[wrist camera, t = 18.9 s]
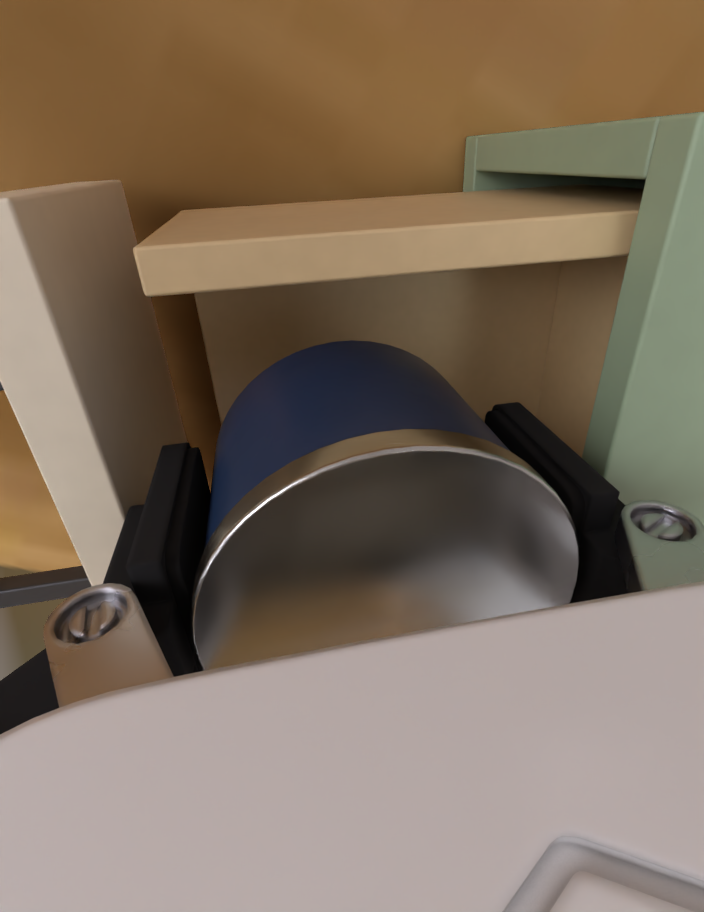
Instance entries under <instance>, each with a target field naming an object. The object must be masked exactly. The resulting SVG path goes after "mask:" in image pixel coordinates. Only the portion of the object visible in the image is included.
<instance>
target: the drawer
mask: <svg viewBox="0 0 704 912" xmlns="http://www.w3.org/2000/svg"><path fill="white" fill-rule="evenodd" d="M643 190H644V189H641V188H628V187H614V186H601V185H587V184H578V185H562V186H547V187H532V188H516V189H501V190H486V191H470V192H455V193H439V194H424V195H409V196H393V197H378V198H363V199H347V200H332V201H316V202H301V203H286V204H270V205H255V206H240V207H224V208H209V209H193V210H182V211H180V212H179V213H178V214H177V215H176V216H174V217H173V218H172V219H170V220H169V221H168V222H166V223H165V224H164V225H163V226H161V227H160V228H159V229H157V230H156V231H155V232H153V233H152V234H151V235H150V236H148V237H147V238H146V239H144V240H143V241H142V242H140V243H139V244H137V240H136V236H135V232H134V228H133V224H132V220H131V216H130V213H129V209H128V205H127V201H126V197H125V193H124V189H123V185H122V182H121V181H120V180H104V181H87V182H74V183H66V184H58V185H51V186H43V187H35V188H28V189H20V190H13V191H5V192H0V391H2V390H4V391H5V393H6V396H7V398H8V400H9V402H10V404H11V407H12V409H13V411H14V413H15V416H16V418H17V420H18V422H19V425H20V427H21V429H22V431H23V434H24V436H25V438H26V440H27V443H28V445H29V447H30V449H31V451H32V454H33V456H34V458H35V460H36V463H37V465H38V467H39V469H40V472H41V474H42V476H43V478H44V481H45V483H46V485H47V487H48V490H49V492H50V494H51V496H52V499H53V501H54V503H55V505H56V507H57V510H58V512H59V514H60V516H61V519H62V521H63V523H64V525H65V528H66V530H67V532H68V534H69V537H70V539H71V541H72V543H73V546H74V548H75V550H76V552H77V554H78V557H79V559H80V561H81V563H82V566H77V567H71V568H64V569H58V570H51V571H44V572H38V573H32V574H24V575H18V576H11V577H4V578H0V608H5V607H10V606H16V605H24V604H29V603H36V602H43V601H49V600H55V599H62V598H68V597H70V596H72V595H74V594H75V593H77V592H79V591H81V590H83V589H86V588H89V587H92V586H95V585H100V584H103V581H104V578H105V576H106V573H107V570H108V567H109V564H110V561H111V558H112V555H113V552H114V549H115V547H116V544H117V541H118V538H119V535H120V532H121V529H122V526H123V523H124V520H125V518H126V515H127V512H128V510H129V508H130V507H131V506H134V505H141V504H145V501H146V497H147V494H148V491H149V488H150V484H151V481H152V478H153V474H154V471H155V468H156V465H157V461H158V458H159V455H160V451H161V448H162V446H163V445H171V444H179V443H187V439H186V435H185V431H184V427H183V423H182V419H181V415H180V411H179V407H178V403H177V399H176V395H175V391H174V387H173V383H172V379H171V375H170V371H169V367H168V363H167V359H166V355H165V351H164V347H163V343H162V339H161V335H160V331H159V328H158V324H157V320H156V316H155V312H154V308H153V304H152V300H151V297H155V296H167V295H178V294H190V293H194V296H195V301H196V306H197V311H198V315H199V320H200V325H201V330H202V335H203V340H204V344H205V349H206V354H207V359H208V364H209V369H210V373H211V378H212V383H213V388H214V393H215V398H216V402H217V407H218V412H219V417H220V422H221V426H222V423H223V421H224V419H225V417H226V415H227V412H228V411H229V409H230V407H231V406H232V404H233V403H234V401H235V400H236V398H237V397H238V396H239V394H240V393H241V392H242V391H243V390H244V389H245V387H246V386H247V385H248V384H249V383H250V382H251V381H252V380H253V379H255V378H256V377H257V376H258V375H259V374H260V373H261V372H263V371H264V370H265V369H267V368H268V367H270V366H271V365H273V364H274V363H276V362H277V361H279V360H281V359H283V358H285V357H287V356H289V355H291V354H293V353H295V352H298V351H300V350H303V349H306V348H309V347H312V346H315V345H320V344H325V343H330V342H337V341H350V340H355V341H371V342H377V343H382V344H387V345H391V346H394V347H397V348H400V349H403V350H405V351H407V352H409V353H411V354H413V355H415V356H417V357H419V358H421V359H422V360H424V361H425V362H426V363H428V364H429V365H431V366H432V367H433V368H434V369H436V370H437V371H438V372H439V373H440V374H441V375H442V376H443V377H444V378H445V379H446V380H447V382H448V383H449V384H450V385H451V386H452V387H453V388H454V389H455V390H456V392H457V393H458V394H459V395H460V396H461V397H462V398H463V399H464V400H465V402H466V403H467V404H468V405H469V406H470V407H471V408H472V409H473V410H474V412H475V413H476V414H477V415H478V416H479V417H480V418H481V419H482V420H483V422H484V423H485V416H486V413H487V412H488V411H492V408H493V406H494V405H497V404H505V403H513V402H519V403H521V404H522V405H523V406H524V407H525V408H526V409H527V410H528V411H530V412H531V413H532V414H533V415H534V416H535V417H536V418H537V419H539V420H540V421H541V422H542V423H543V424H544V425H545V426H546V427H548V428H549V429H550V430H551V431H552V432H553V433H554V434H555V435H557V436H558V437H559V438H560V439H561V440H562V441H563V442H564V443H566V444H567V445H568V446H569V447H570V448H571V449H572V450H573V451H574V452H576V453H577V454H578V455H579V456H580V457H581V458H582V454H583V450H584V445H585V441H586V437H587V432H588V428H589V424H590V419H591V415H592V411H593V406H594V402H595V398H596V393H597V389H598V385H599V381H600V376H601V372H602V368H603V363H604V359H605V355H606V350H607V346H608V342H609V337H610V333H611V329H612V324H613V320H614V316H615V311H616V307H617V303H618V298H619V294H620V290H621V285H622V281H623V277H624V272H625V268H626V264H627V259H628V255H629V251H630V246H631V242H632V238H633V233H634V229H635V225H636V220H637V216H638V212H639V207H640V203H641V199H642V194H643Z"/></svg>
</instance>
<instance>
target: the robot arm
mask: <svg viewBox="0 0 704 912" xmlns="http://www.w3.org/2000/svg"><path fill="white" fill-rule="evenodd" d="M485 424H486V425H487V426H488V427H489V428H490V429H491V430H492V432H493V433H494V434H495V435H496V436H497V437H498V438H499V439H500V440H501V442H502V443H503V444H504V445H505V446H506V447H507V448H508V449H509V450H510V451H511V452H512V453H514V454H515V455H517V456H518V457H520V458H521V459H523V460H524V461H526V462H527V463H528V464H529V465H530V466H531V467H532V468H533V469H534V470H535V471H536V472H537V473H538V474H540V475H541V476H542V477H543V479H544V480H545V481H546V482H547V483H548V484H549V485H550V486H551V487H552V488H553V489H554V490H555V492H556V493H557V494H558V496H559V497H560V498H561V500H562V501H563V503H564V504H565V505H566V507H567V508H568V511H569V513H570V515H571V517H572V519H573V522H574V524H575V527H576V532H577V536H578V540H579V545H580V569H579V576H578V582H577V585H576V589H575V592H574V595H573V598H572V601H571V603H570V604H565V605H560V606H554V607H548V608H542V609H537V610H531V611H525V612H520V613H514V614H509V615H503V616H497V617H492V618H486V619H481V620H475V621H470V622H464V623H459V624H453V625H447V626H442V627H436V628H431V629H425V630H420V631H414V632H409V633H403V634H398V635H392V636H387V637H381V638H376V639H371V640H365V641H360V642H355V643H349V644H344V645H338V646H333V647H328V648H322V649H317V650H312V651H306V652H301V653H296V654H290V655H285V656H280V657H274V658H269V659H264V660H258V661H253V662H247V663H242V664H237V665H232V666H227V667H221V668H216V669H211V670H206V671H203V669H202V667H201V665H200V663H199V661H198V659H197V657H196V654H195V650H194V647H193V643H192V640H191V630H190V612H191V603H192V595H193V587H194V579H195V575H196V572H197V568H198V565H199V562H200V558H201V556H202V554H203V552H204V548H205V539H206V530H207V521H208V513H209V504H210V495H211V494H210V490H209V486H208V481H207V477H206V473H205V469H204V464H203V460H202V456H201V452H200V449H199V448H198V447H197V448H191V447H190V444H189V443H188V442H187V443H179V444H171V445H163V446H162V448H161V451H160V455H159V458H158V461H157V465H156V468H155V471H154V474H153V478H152V481H151V484H150V488H149V491H148V494H147V497H146V501H145V504H141V505H134V506H131V507H130V508H129V510H128V512H127V515H126V518H125V520H124V523H123V526H122V529H121V532H120V535H119V538H118V541H117V544H116V547H115V549H114V552H113V555H112V558H111V561H110V564H109V567H108V570H107V573H106V576H105V578H104V581H103V584H100V585H95V586H92V587H89V588H86V589H83V590H81V591H79V592H77V593H75V594H74V595H72V596H70V597H68V598H67V599H66V600H65V601H63V602H62V603H61V604H59V605H58V606H57V607H56V608H55V610H54V611H53V612H52V613H51V615H50V616H49V617H48V619H47V622H46V624H45V626H44V634H43V638H44V642H45V647H46V648H45V649H44V650H43V651H41V652H40V653H39V654H37V655H36V656H34V657H33V658H32V659H30V660H29V661H27V662H26V663H25V664H23V665H22V666H20V667H19V668H18V669H16V670H15V671H14V672H12V673H11V674H9V675H8V676H7V677H5V678H4V679H2V680H1V681H0V912H704V525H703V524H702V523H701V521H700V520H699V519H697V518H696V517H695V516H694V515H692V514H691V513H689V512H687V511H686V510H684V509H682V508H680V507H677V506H674V505H671V504H668V503H664V502H659V501H653V500H641V501H635V502H631V503H629V504H627V505H625V504H624V503H623V502H621V501H620V500H619V499H618V497H619V494H620V492H619V491H618V490H617V489H616V488H615V487H614V486H613V485H611V484H610V483H609V482H608V481H607V480H606V479H605V478H604V477H603V476H601V475H600V474H599V473H598V472H597V471H596V470H595V469H594V468H592V467H591V466H590V465H589V464H588V463H587V462H586V461H585V460H583V459H582V458H581V457H580V456H579V455H578V454H577V453H576V452H574V451H573V450H572V449H571V448H570V447H569V446H568V445H567V444H566V443H564V442H563V441H562V440H561V439H560V438H559V437H558V436H557V435H555V434H554V433H553V432H552V431H551V430H550V429H549V428H548V427H546V426H545V425H544V424H543V423H542V422H541V421H540V420H539V419H537V418H536V417H535V416H534V415H533V414H532V413H531V412H530V411H528V410H527V409H526V408H525V407H524V406H523V405H522V404H521V403H519V402H513V403H505V404H497V405H494V406H493V408H492V411H488V412H487V413H486V416H485Z"/></svg>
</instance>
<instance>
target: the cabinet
mask: <svg viewBox="0 0 704 912" xmlns="http://www.w3.org/2000/svg"><path fill="white" fill-rule="evenodd" d="M578 184H587V185H601V186H614V187H628V188H641V189H644V190H643V194H642V199H641V203H640V207H639V212H638V216H637V220H636V225H635V229H634V233H633V238H632V242H631V246H630V251H629V255H628V259H627V264H626V268H625V272H624V277H623V281H622V285H621V290H620V294H619V298H618V303H617V307H616V311H615V316H614V320H613V324H612V329H611V333H610V337H609V342H608V346H607V350H606V355H605V359H604V363H603V368H602V372H601V376H600V381H599V385H598V389H597V393H596V398H595V402H594V406H593V411H592V415H591V419H590V424H589V428H588V432H587V437H586V441H585V445H584V450H583V454H582V459H583V460H585V461H586V462H587V463H588V464H589V465H590V466H591V467H592V468H594V469H595V470H596V471H597V472H598V473H599V474H600V475H601V476H603V477H604V478H605V479H606V480H607V481H608V482H609V483H610V484H611V485H613V486H614V487H615V488H616V489H617V490H618V491H619V492H620V494H619V497H618V499H619V500H620V501H621V502H623V503H624V504H625V505H627V504H629V503H631V502H635V501H641V500H653V501H659V502H664V503H668V504H671V505H674V506H677V507H680V508H682V509H684V510H686V511H687V512H689V513H691V514H692V515H694V516H695V517H696V518H697V519H699V520H700V521H701V523H702V524H703V525H704V112H695V113H685V114H676V115H667V116H657V117H647V118H638V119H628V120H619V121H609V122H600V123H590V124H581V125H571V126H562V127H553V128H543V129H534V130H524V131H515V132H505V133H496V134H486V135H477V136H468V137H467V138H466V149H465V165H464V181H463V192H470V191H486V190H501V189H516V188H532V187H547V186H562V185H578Z"/></svg>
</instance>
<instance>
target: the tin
mask: <svg viewBox="0 0 704 912" xmlns="http://www.w3.org/2000/svg"><path fill="white" fill-rule="evenodd" d="M579 569H580V545H579V540H578V536H577V532H576V527H575V524H574V522H573V519H572V517H571V515H570V513H569V511H568V508H567V507H566V505H565V504H564V503H563V501H562V500H561V498H560V497H559V496H558V494H557V493H556V492H555V490H554V489H553V488H552V487H551V486H550V485H549V484H548V483H547V482H546V481H545V480H544V479H543V477H542V476H541V475H540V474H538V473H537V472H536V471H535V470H534V469H533V468H532V467H531V466H530V465H529V464H528V463H527V462H526V461H524V460H523V459H521V458H520V457H518V456H517V455H515V454H514V453H512V452H511V451H510V450H509V449H508V448H507V447H506V446H505V445H504V444H503V443H502V442H501V440H500V439H499V438H498V437H497V436H496V435H495V434H494V433H493V432H492V430H491V429H490V428H489V427H488V426H487V425H486V424H485V423H484V422H483V420H482V419H481V418H480V417H479V416H478V415H477V414H476V413H475V412H474V410H473V409H472V408H471V407H470V406H469V405H468V404H467V403H466V402H465V400H464V399H463V398H462V397H461V396H460V395H459V394H458V393H457V392H456V390H455V389H454V388H453V387H452V386H451V385H450V384H449V383H448V382H447V380H446V379H445V378H444V377H443V376H442V375H441V374H440V373H439V372H438V371H437V370H436V369H434V368H433V367H432V366H431V365H429V364H428V363H426V362H425V361H424V360H422V359H421V358H419V357H417V356H415V355H413V354H411V353H409V352H407V351H405V350H403V349H400V348H397V347H394V346H391V345H387V344H382V343H377V342H371V341H355V340H350V341H337V342H330V343H325V344H320V345H315V346H312V347H309V348H306V349H303V350H300V351H298V352H295V353H293V354H291V355H289V356H287V357H285V358H283V359H281V360H279V361H277V362H276V363H274V364H273V365H271V366H270V367H268V368H267V369H265V370H264V371H263V372H261V373H260V374H259V375H258V376H257V377H256V378H255V379H253V380H252V381H251V382H250V383H249V384H248V385H247V386H246V387H245V389H244V390H243V391H242V392H241V393H240V394H239V396H238V397H237V398H236V400H235V401H234V403H233V404H232V406H231V407H230V409H229V411H228V412H227V415H226V417H225V419H224V421H223V423H222V426H221V428H220V432H219V435H218V439H217V443H216V451H215V459H214V468H213V477H212V486H211V495H210V504H209V513H208V521H207V530H206V539H205V548H204V552H203V554H202V556H201V558H200V562H199V565H198V568H197V572H196V575H195V579H194V587H193V595H192V603H191V612H190V630H191V640H192V643H193V647H194V650H195V654H196V657H197V659H198V661H199V663H200V665H201V667H202V669H203V671H206V670H211V669H216V668H221V667H227V666H232V665H237V664H242V663H247V662H253V661H258V660H264V659H269V658H274V657H280V656H285V655H290V654H296V653H301V652H306V651H312V650H317V649H322V648H328V647H333V646H338V645H344V644H349V643H355V642H360V641H365V640H371V639H376V638H381V637H387V636H392V635H398V634H403V633H409V632H414V631H420V630H425V629H431V628H436V627H442V626H447V625H453V624H459V623H464V622H470V621H475V620H481V619H486V618H492V617H497V616H503V615H509V614H514V613H520V612H525V611H531V610H537V609H542V608H548V607H554V606H560V605H565V604H570V603H571V601H572V598H573V595H574V592H575V589H576V585H577V582H578V576H579Z"/></svg>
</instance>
